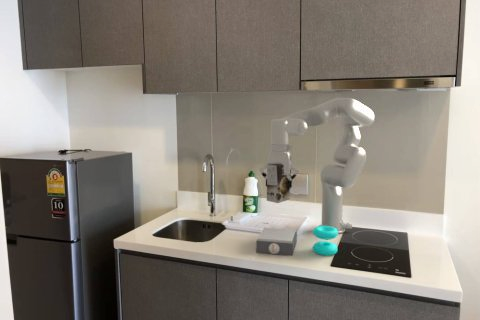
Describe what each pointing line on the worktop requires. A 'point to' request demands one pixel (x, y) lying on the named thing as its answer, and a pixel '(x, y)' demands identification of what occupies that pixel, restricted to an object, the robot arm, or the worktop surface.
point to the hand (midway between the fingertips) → (278, 188)
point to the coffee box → (277, 184)
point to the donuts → (325, 246)
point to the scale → (276, 241)
